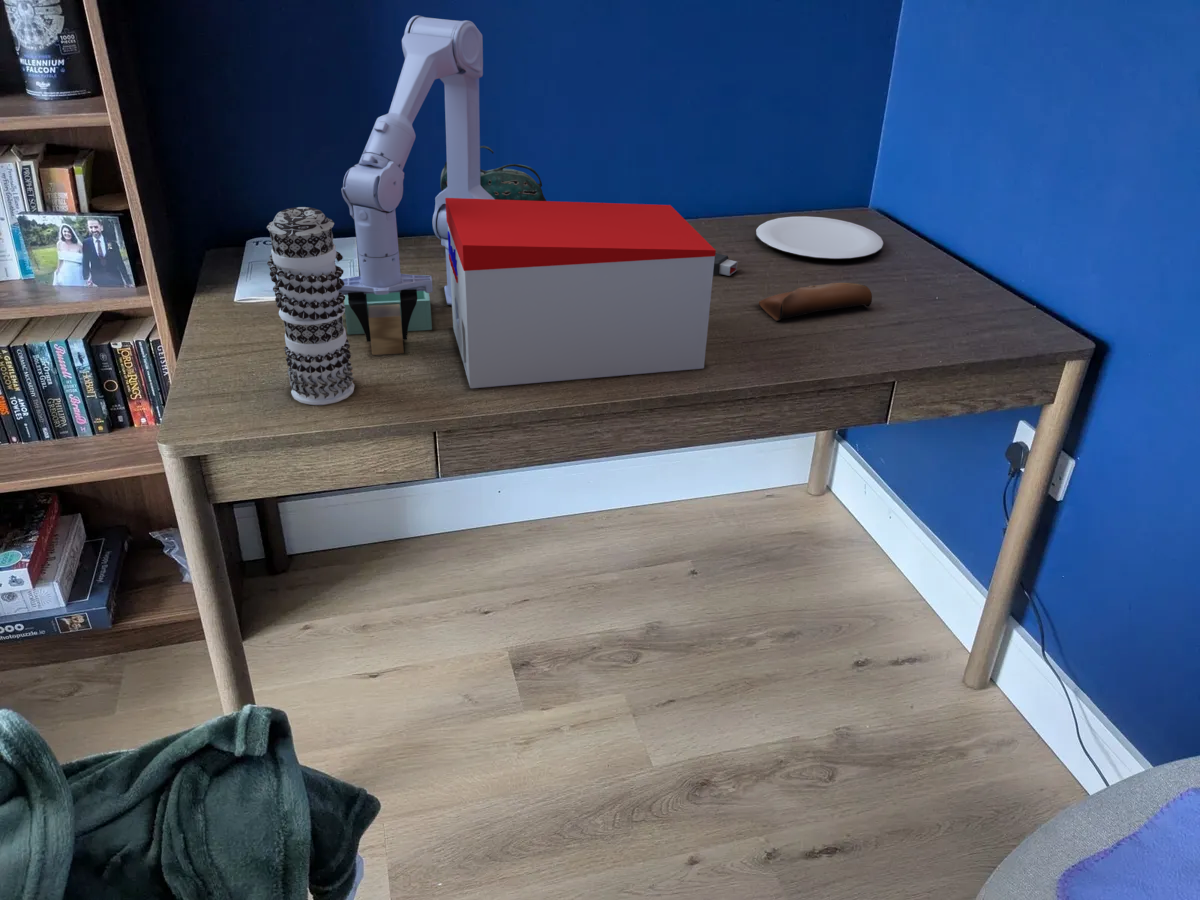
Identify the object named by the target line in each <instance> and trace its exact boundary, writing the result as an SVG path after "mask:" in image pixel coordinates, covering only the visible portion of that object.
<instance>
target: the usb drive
mask: <svg viewBox="0 0 1200 900" xmlns="http://www.w3.org/2000/svg"><path fill="white" fill-rule="evenodd" d="M737 271H738V261H737V260H732V259H729V255H727V254H721V253H717V252H716V253H715V259H714V269H713V276H720V275H724V276H729V277H730V276H732V274H734V273H735V272H737Z"/></svg>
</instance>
